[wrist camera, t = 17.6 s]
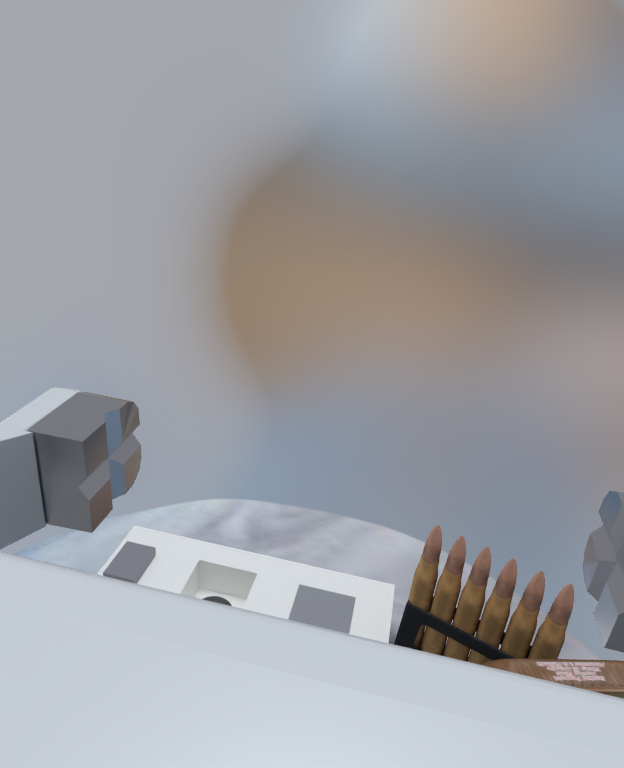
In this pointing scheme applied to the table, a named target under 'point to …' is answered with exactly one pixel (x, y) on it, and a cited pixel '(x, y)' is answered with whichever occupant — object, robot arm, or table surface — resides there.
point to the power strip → (254, 582)
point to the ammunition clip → (479, 610)
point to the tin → (570, 672)
